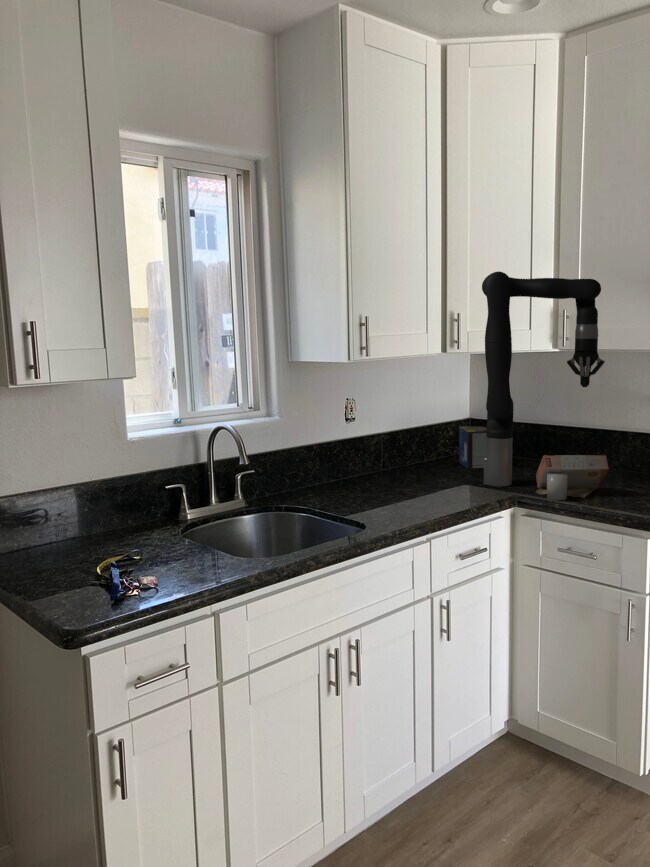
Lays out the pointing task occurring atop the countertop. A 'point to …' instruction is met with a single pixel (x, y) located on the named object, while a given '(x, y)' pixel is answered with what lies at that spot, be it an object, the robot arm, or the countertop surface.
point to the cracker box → (574, 469)
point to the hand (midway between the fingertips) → (584, 386)
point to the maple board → (571, 491)
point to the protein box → (472, 446)
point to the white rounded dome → (557, 486)
